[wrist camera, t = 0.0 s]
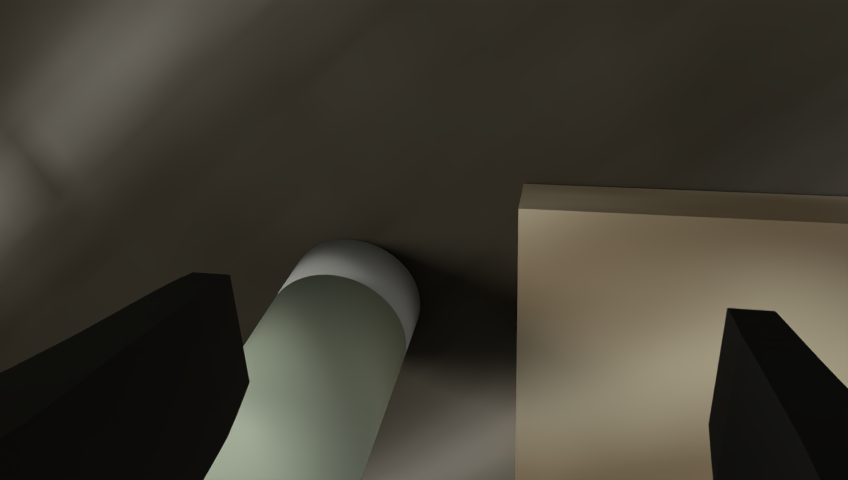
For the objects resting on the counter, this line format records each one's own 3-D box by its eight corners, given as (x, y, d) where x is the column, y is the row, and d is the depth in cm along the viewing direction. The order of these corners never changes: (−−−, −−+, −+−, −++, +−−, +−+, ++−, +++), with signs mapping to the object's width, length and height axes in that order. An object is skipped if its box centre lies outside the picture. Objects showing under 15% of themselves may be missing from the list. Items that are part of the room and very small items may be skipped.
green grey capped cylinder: (423, 356, 25) (365, 536, 19) (299, 346, 26) (206, 516, 20) (417, 243, 23) (350, 402, 17) (283, 235, 24) (175, 385, 18)
